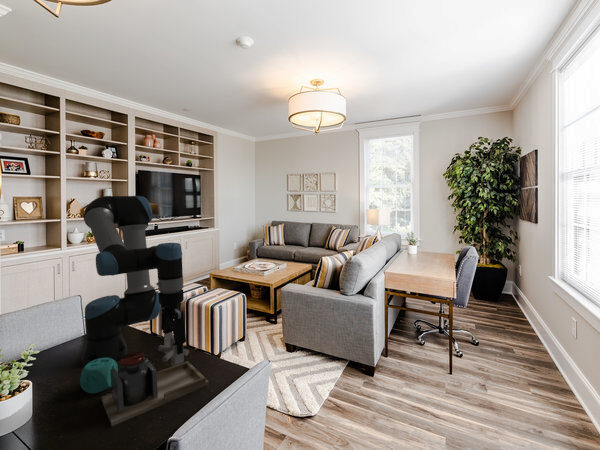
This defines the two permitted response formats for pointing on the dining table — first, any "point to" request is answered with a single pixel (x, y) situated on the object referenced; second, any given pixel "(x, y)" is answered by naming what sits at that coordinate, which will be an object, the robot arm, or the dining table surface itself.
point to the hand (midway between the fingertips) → (173, 357)
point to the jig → (160, 391)
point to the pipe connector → (170, 351)
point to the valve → (133, 381)
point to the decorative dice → (97, 375)
